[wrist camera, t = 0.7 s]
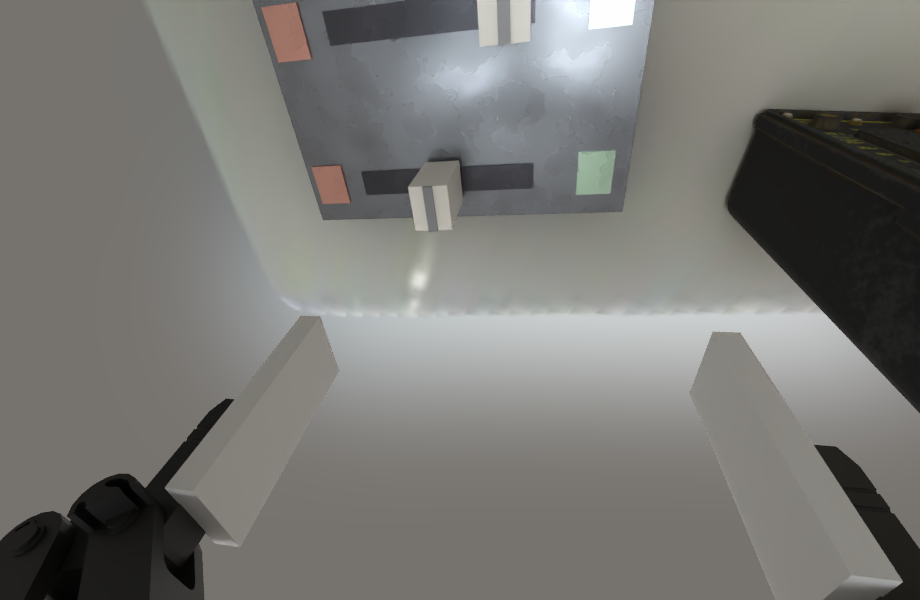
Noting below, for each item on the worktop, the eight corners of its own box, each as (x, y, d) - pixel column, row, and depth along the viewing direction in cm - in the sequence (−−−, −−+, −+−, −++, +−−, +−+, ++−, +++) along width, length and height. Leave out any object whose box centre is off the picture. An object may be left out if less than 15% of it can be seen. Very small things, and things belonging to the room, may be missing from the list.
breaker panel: (263, -21, 26) (243, -23, 24) (657, -79, 21) (668, -87, 20) (332, 210, 35) (322, 221, 33) (617, 201, 31) (622, 212, 29)
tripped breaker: (425, 162, 29) (407, 188, 25) (459, 160, 28) (446, 186, 24) (431, 201, 30) (415, 231, 26) (463, 200, 30) (451, 231, 26)
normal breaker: (485, -24, 22) (474, -32, 18) (531, -30, 22) (530, -39, 17) (488, 40, 24) (479, 47, 20) (530, 35, 23) (530, 41, 19)
